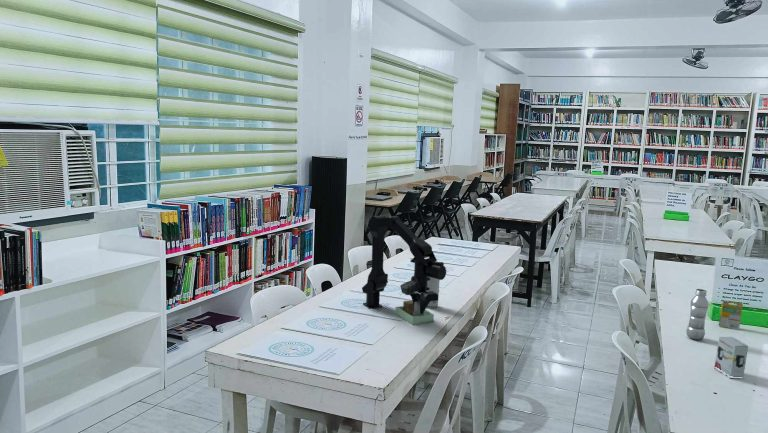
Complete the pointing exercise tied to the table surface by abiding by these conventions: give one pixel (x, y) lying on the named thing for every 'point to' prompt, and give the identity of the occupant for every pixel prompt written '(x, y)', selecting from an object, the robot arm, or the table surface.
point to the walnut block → (408, 307)
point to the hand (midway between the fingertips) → (418, 311)
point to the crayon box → (730, 315)
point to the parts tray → (412, 318)
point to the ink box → (731, 356)
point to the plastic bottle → (698, 315)
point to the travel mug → (434, 287)
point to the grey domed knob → (417, 309)
